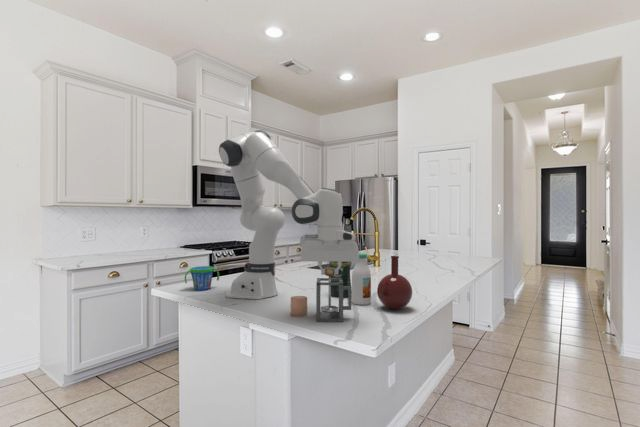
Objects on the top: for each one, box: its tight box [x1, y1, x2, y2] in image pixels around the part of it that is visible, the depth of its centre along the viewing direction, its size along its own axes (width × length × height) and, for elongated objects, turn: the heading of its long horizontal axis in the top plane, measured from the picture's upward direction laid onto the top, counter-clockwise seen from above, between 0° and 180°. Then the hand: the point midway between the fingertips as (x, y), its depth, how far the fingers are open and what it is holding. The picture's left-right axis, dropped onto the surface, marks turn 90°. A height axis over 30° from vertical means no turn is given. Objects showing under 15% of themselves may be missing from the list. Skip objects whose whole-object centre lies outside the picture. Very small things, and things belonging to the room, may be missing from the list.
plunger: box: [320, 267, 339, 313], centre depth 125 cm, size 6×6×15 cm
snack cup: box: [184, 265, 220, 291], centre depth 170 cm, size 16×10×10 cm
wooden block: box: [290, 295, 308, 318], centre depth 130 cm, size 6×6×6 cm
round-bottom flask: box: [376, 255, 413, 310], centre depth 138 cm, size 13×13×20 cm
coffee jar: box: [328, 262, 352, 298], centre depth 159 cm, size 10×8×19 cm
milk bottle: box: [351, 252, 372, 306], centre depth 146 cm, size 8×8×20 cm
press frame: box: [315, 277, 352, 323], centre depth 125 cm, size 12×9×13 cm
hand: (329, 274), depth 125 cm, fingers closed on plunger, 3 cm apart
